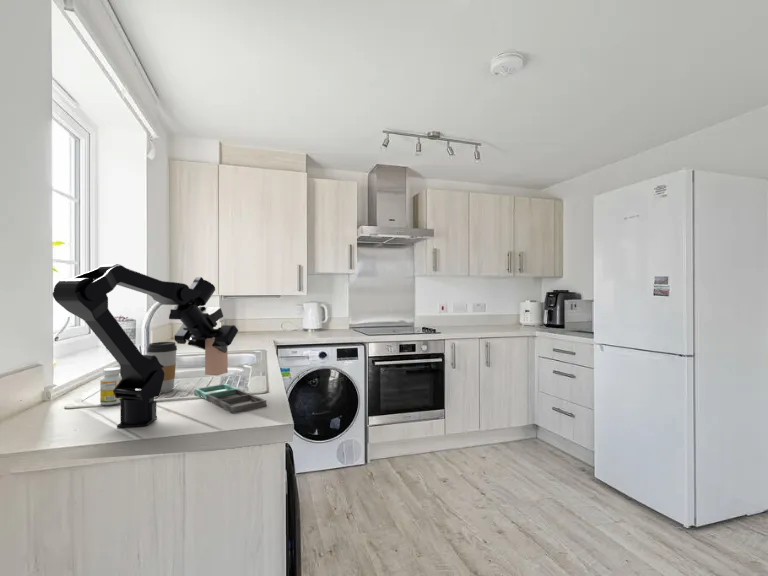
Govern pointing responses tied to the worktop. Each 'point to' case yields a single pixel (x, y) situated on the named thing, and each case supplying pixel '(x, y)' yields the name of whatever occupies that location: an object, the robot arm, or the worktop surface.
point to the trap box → (230, 397)
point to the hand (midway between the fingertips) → (219, 351)
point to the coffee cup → (165, 362)
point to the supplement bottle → (109, 386)
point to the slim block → (215, 359)
